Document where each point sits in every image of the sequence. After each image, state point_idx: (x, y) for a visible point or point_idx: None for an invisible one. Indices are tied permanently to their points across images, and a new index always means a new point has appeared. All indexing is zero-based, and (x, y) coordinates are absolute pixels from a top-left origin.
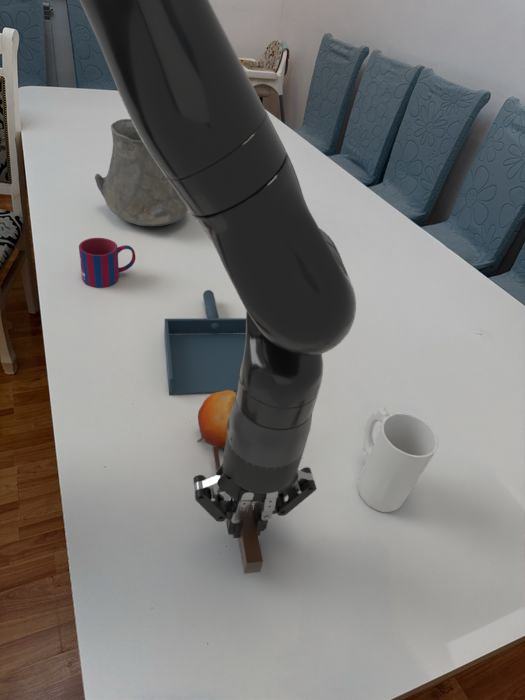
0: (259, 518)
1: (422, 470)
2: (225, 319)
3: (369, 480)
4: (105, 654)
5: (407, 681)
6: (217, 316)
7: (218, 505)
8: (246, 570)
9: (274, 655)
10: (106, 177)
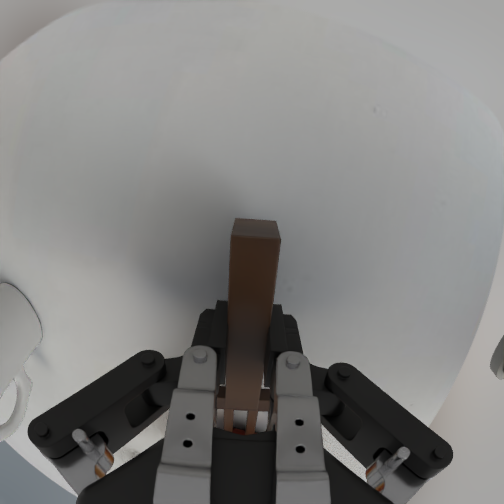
0: (219, 352)
1: None
2: None
3: (9, 344)
4: (494, 160)
5: (48, 28)
6: None
7: (364, 421)
8: (273, 225)
9: (245, 52)
10: None
